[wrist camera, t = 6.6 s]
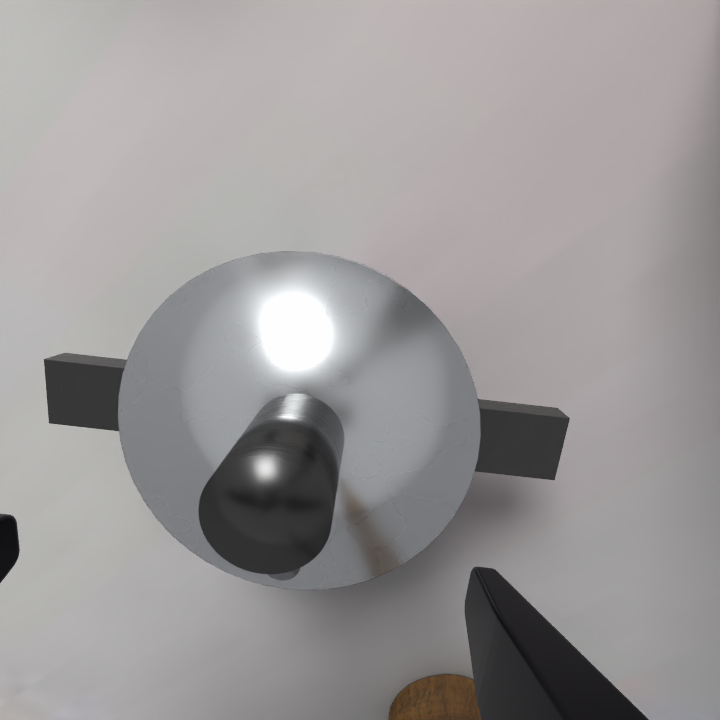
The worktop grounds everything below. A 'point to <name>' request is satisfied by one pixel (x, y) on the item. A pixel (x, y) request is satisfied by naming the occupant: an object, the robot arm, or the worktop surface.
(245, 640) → the worktop surface
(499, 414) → the pot
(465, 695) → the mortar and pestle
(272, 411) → the lid
